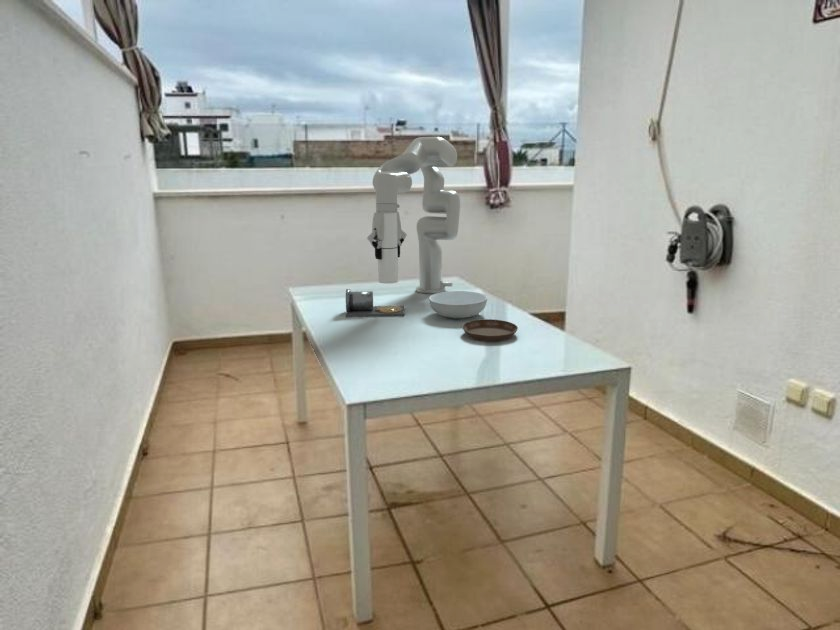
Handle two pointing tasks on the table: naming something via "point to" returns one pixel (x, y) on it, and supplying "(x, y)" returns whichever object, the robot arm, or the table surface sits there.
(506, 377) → the table surface
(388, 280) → the cylindrical container
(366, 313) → the pipe fitting board
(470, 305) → the serving bowl
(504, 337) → the plant saucer
